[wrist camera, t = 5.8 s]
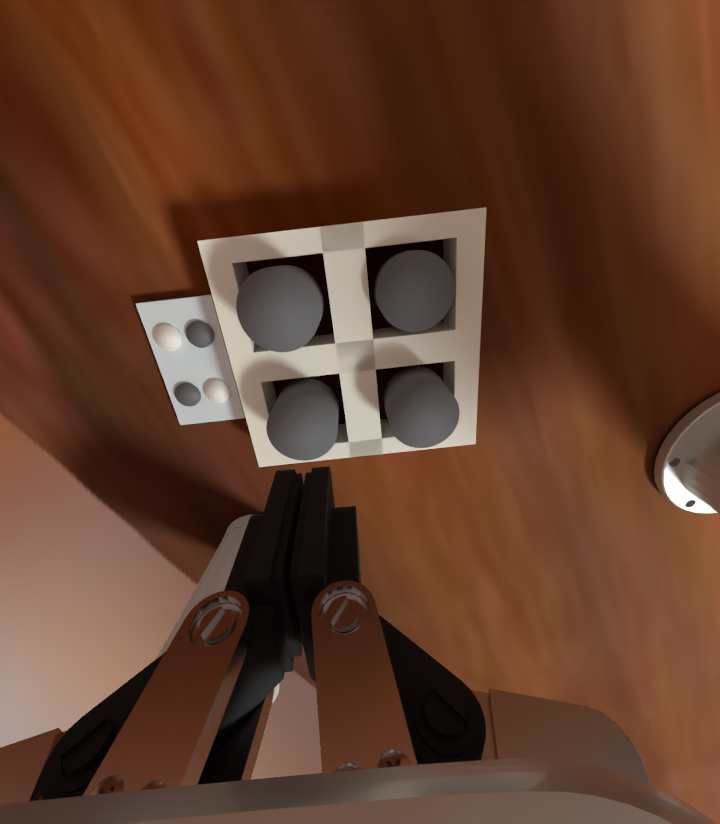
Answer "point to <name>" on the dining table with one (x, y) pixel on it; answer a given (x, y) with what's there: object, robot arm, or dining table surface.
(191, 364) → the card
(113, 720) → the robot arm
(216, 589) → the cup
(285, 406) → the button
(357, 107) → the dining table surface
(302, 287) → the button camera
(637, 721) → the dining table surface
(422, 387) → the button
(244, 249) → the board
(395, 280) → the camera button
